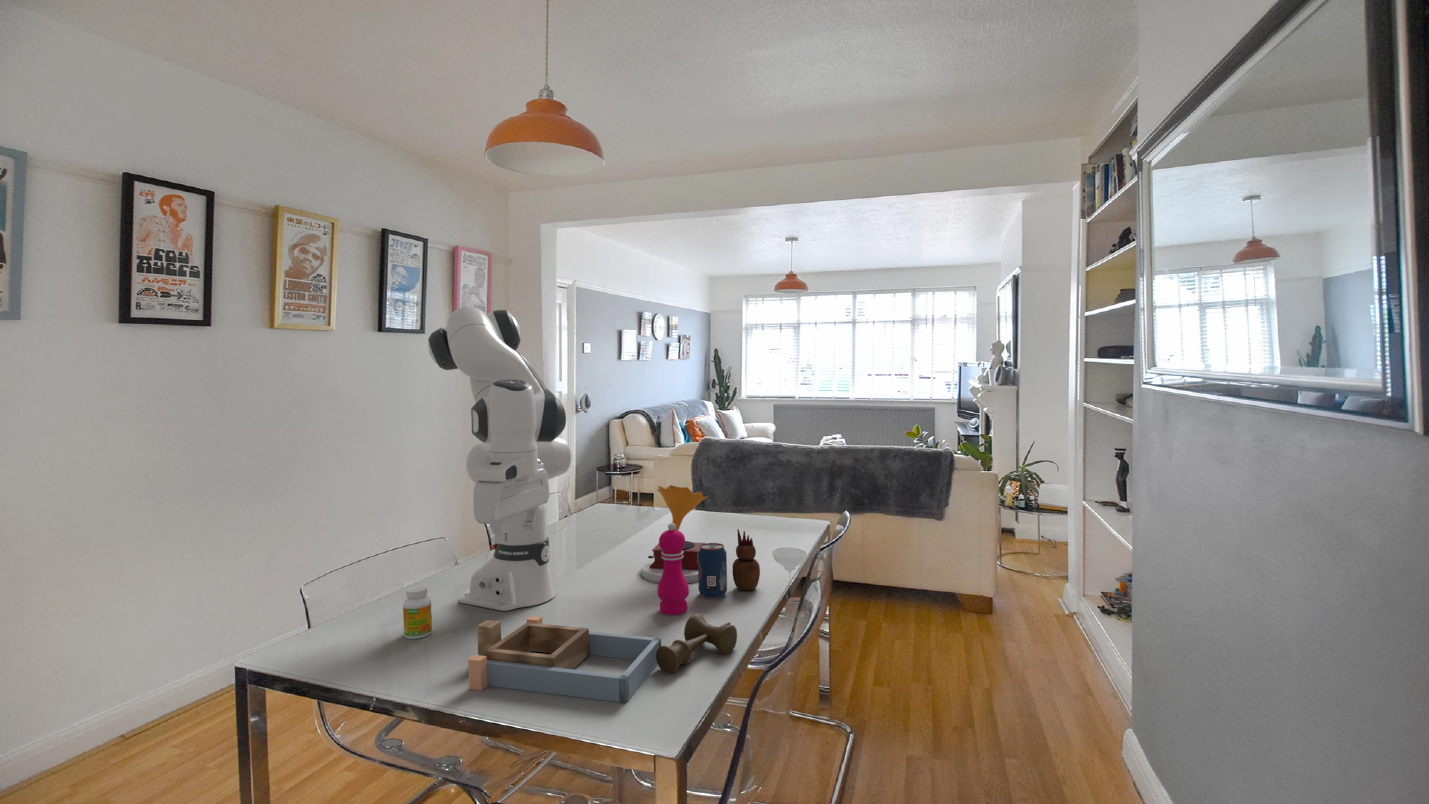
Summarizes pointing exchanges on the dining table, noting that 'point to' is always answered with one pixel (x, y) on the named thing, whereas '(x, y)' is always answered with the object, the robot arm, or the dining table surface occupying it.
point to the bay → (574, 680)
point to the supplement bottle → (417, 613)
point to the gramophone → (679, 506)
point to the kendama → (696, 642)
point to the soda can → (712, 570)
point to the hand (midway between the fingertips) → (515, 536)
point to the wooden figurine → (745, 565)
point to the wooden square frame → (534, 644)
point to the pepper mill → (672, 573)
